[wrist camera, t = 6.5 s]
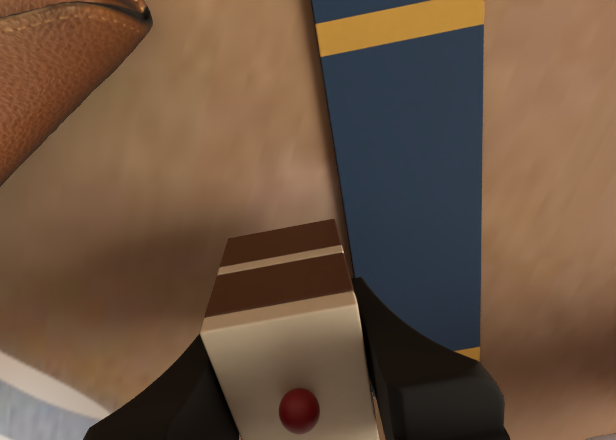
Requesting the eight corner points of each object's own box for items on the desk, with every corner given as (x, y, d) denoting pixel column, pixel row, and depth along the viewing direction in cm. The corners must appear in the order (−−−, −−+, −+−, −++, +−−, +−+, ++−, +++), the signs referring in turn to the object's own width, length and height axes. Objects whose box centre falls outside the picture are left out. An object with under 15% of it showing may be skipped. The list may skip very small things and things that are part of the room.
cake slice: (334, 218, 15) (365, 333, 9) (354, 332, 18) (388, 481, 12) (227, 238, 15) (188, 364, 9) (262, 348, 18) (249, 504, 12)
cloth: (481, -54, 14) (485, -56, 14) (477, 374, 23) (479, 378, 23) (308, -17, 14) (308, -19, 14) (372, 392, 23) (373, 397, 23)
